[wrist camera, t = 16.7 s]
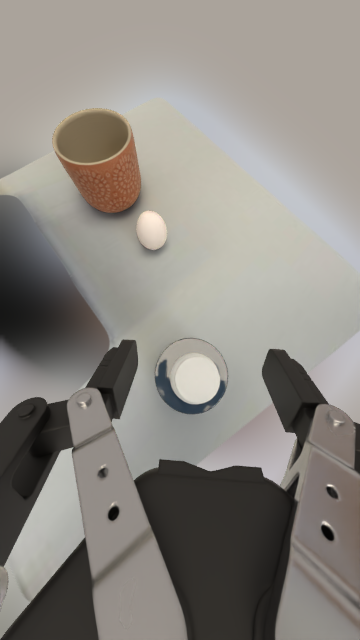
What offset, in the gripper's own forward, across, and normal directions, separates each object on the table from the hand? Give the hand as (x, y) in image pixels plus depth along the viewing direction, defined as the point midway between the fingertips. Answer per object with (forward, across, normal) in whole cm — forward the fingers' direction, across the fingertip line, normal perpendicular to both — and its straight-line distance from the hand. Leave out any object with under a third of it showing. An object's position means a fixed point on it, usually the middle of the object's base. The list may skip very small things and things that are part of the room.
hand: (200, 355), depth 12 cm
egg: (+30, +8, -2) cm, 31 cm away
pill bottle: (+7, 0, +9) cm, 11 cm away
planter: (+37, +17, -9) cm, 42 cm away
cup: (+13, 0, +15) cm, 20 cm away
